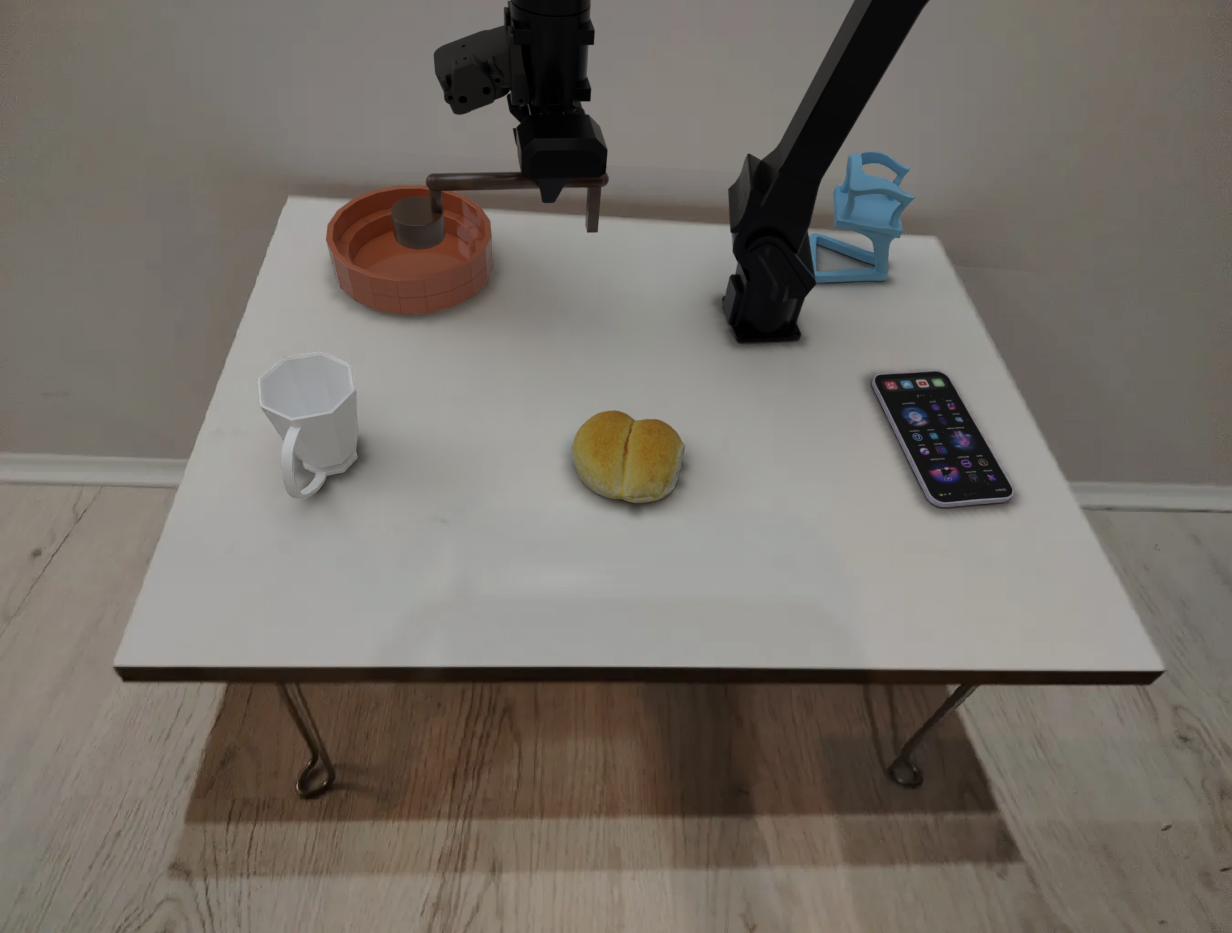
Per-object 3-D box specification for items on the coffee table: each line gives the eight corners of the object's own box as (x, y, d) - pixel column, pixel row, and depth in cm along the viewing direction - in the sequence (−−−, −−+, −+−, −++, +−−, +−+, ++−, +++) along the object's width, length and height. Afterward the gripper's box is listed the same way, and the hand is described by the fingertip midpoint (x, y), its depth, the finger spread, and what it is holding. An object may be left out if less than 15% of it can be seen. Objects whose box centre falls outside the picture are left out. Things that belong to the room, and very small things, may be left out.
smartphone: (945, 369, 73) (1019, 497, 64) (942, 373, 73) (1016, 501, 64) (869, 373, 72) (934, 504, 63) (867, 378, 72) (931, 508, 63)
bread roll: (585, 417, 67) (588, 384, 63) (687, 442, 66) (695, 410, 63) (557, 491, 61) (558, 458, 58) (667, 519, 61) (674, 488, 57)
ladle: (600, 214, 72) (604, 157, 68) (608, 243, 70) (613, 185, 65) (394, 220, 69) (384, 161, 64) (394, 250, 66) (384, 190, 62)
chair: (887, 295, 81) (933, 191, 71) (808, 282, 81) (843, 176, 72) (883, 251, 86) (925, 148, 76) (808, 239, 86) (841, 135, 77)
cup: (385, 426, 64) (368, 354, 58) (351, 526, 58) (329, 458, 52) (299, 418, 64) (274, 345, 58) (256, 517, 58) (222, 447, 51)
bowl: (488, 222, 83) (486, 183, 80) (497, 315, 74) (496, 277, 70) (340, 225, 81) (331, 186, 77) (331, 322, 71) (320, 283, 68)
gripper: (430, -53, 59) (447, 141, 72) (440, 59, 48) (458, 267, 60) (574, -48, 61) (567, 139, 74) (617, 60, 50) (600, 261, 62)
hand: (547, 196), depth 67 cm, fingers closed on ladle
